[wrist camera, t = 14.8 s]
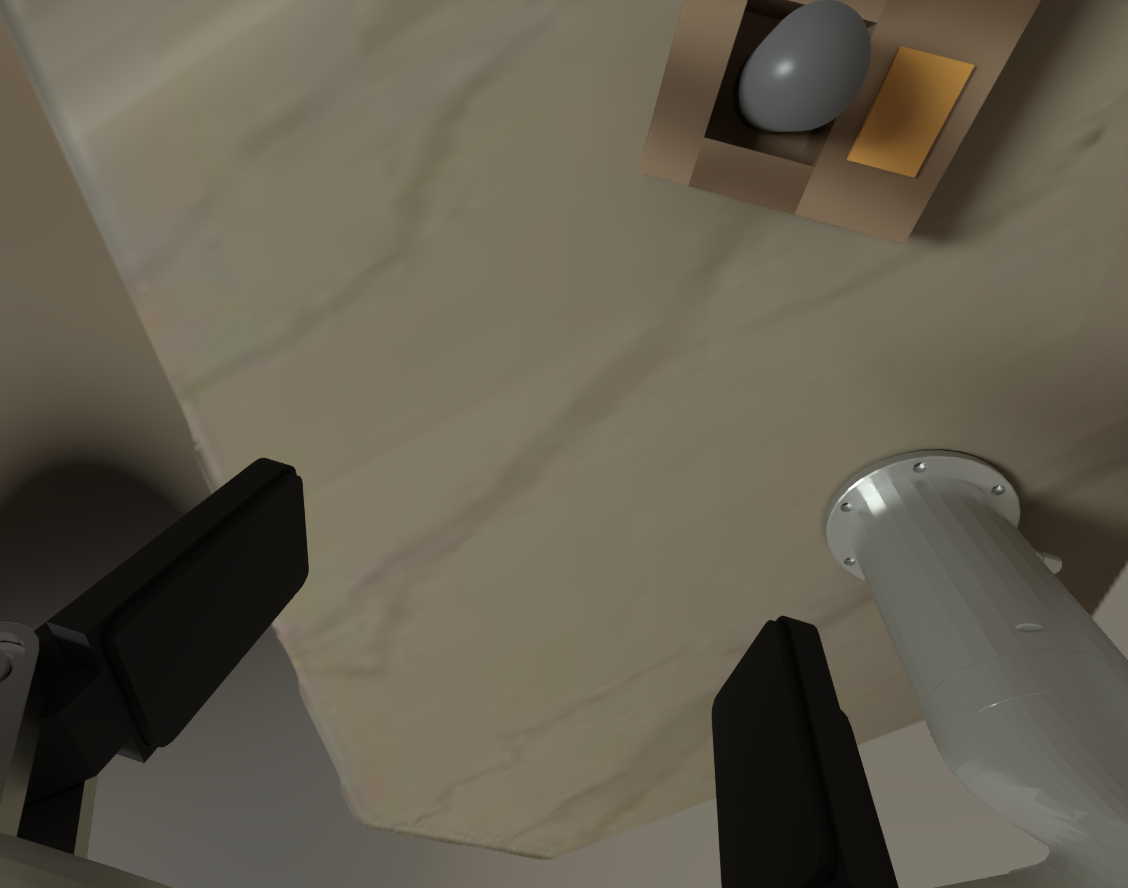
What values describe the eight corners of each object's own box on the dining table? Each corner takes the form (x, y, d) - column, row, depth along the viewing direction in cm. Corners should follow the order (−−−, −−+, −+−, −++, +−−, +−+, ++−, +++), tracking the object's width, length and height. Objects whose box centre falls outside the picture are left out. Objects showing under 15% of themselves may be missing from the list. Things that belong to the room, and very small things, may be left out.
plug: (828, 50, 26) (893, 14, 18) (793, 140, 28) (837, 142, 20) (751, 31, 26) (782, -13, 18) (721, 122, 28) (738, 117, 21)
